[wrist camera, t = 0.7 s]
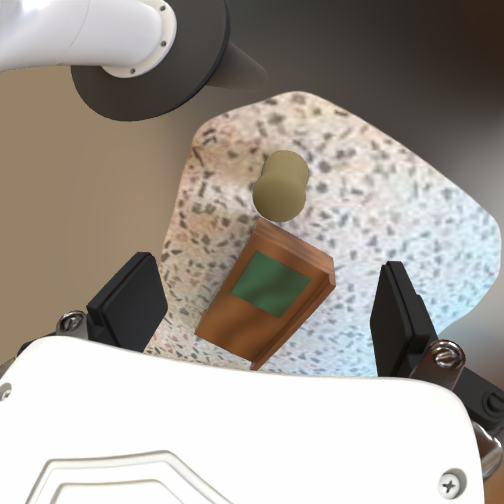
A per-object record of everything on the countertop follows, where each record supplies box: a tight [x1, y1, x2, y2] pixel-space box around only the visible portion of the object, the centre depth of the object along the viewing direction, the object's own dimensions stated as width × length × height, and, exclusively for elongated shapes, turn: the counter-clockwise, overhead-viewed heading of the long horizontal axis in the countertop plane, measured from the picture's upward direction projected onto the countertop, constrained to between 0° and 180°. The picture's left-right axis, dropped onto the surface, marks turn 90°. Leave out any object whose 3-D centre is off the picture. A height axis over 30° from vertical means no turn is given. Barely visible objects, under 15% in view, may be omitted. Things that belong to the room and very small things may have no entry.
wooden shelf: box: [194, 217, 336, 371], centre depth 42 cm, size 12×22×7 cm, turn 152°
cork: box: [252, 151, 309, 222], centre depth 31 cm, size 6×6×11 cm
